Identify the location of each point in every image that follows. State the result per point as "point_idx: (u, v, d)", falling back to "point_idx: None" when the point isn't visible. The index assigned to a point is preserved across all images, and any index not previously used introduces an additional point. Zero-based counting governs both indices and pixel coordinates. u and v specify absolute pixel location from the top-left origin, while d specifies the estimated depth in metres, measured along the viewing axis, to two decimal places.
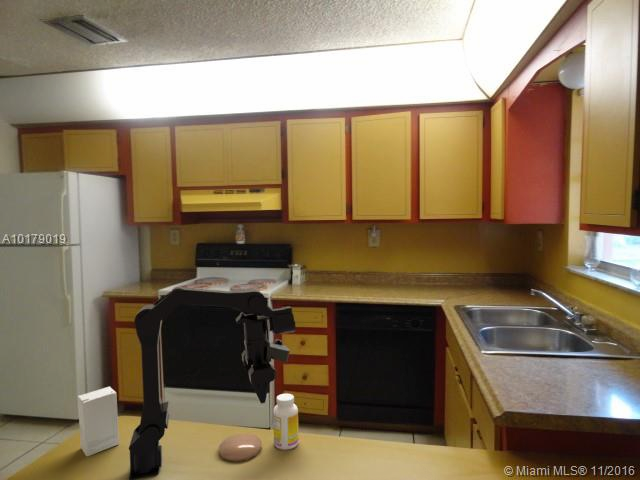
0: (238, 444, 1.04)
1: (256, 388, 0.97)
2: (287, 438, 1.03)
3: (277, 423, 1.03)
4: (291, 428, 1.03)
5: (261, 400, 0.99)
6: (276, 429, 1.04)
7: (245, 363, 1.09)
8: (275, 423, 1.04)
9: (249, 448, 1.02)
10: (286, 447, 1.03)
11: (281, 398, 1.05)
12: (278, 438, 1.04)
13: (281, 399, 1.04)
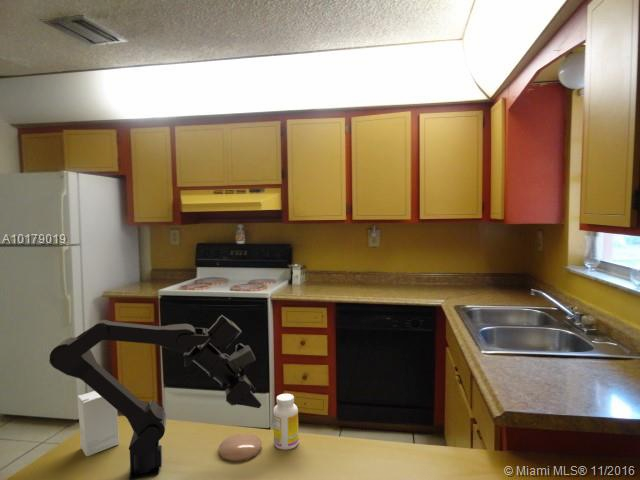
0: (238, 444, 1.04)
1: (243, 403, 0.96)
2: (287, 438, 1.03)
3: (277, 423, 1.03)
4: (291, 428, 1.03)
5: (257, 406, 0.99)
6: (276, 429, 1.04)
7: None
8: (275, 423, 1.04)
9: (249, 448, 1.02)
10: (286, 447, 1.03)
11: (281, 398, 1.05)
12: (278, 438, 1.04)
13: (281, 399, 1.04)
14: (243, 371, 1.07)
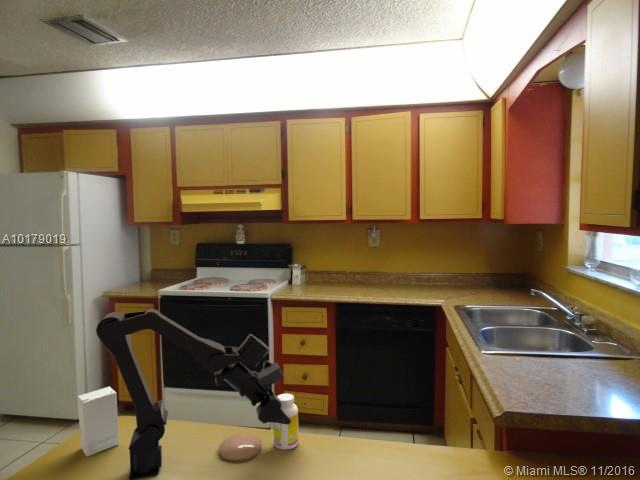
0: (238, 444, 1.04)
1: (274, 420, 0.99)
2: (287, 438, 1.03)
3: (277, 423, 1.03)
4: (291, 428, 1.03)
5: (286, 422, 1.01)
6: (276, 429, 1.04)
7: None
8: (275, 423, 1.04)
9: (249, 448, 1.02)
10: (286, 447, 1.03)
11: (281, 398, 1.05)
12: (278, 438, 1.04)
13: (281, 399, 1.04)
14: (270, 387, 1.10)
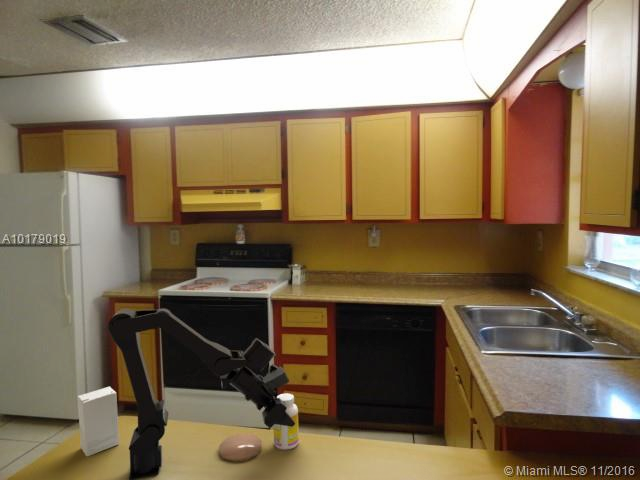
0: (238, 444, 1.04)
1: (278, 422, 1.00)
2: (287, 438, 1.03)
3: None
4: (291, 428, 1.03)
5: (291, 425, 1.03)
6: (276, 429, 1.04)
7: None
8: None
9: (249, 448, 1.02)
10: (286, 447, 1.03)
11: (281, 398, 1.05)
12: (278, 438, 1.04)
13: (281, 399, 1.04)
14: (276, 393, 1.09)
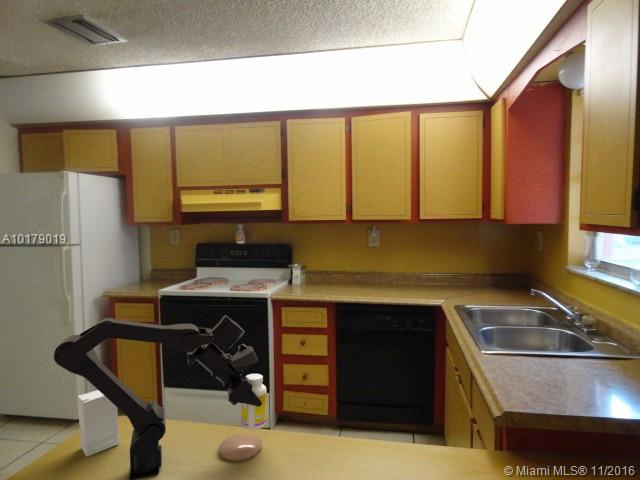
0: (238, 444, 1.04)
1: (244, 401, 0.99)
2: (254, 418, 1.01)
3: None
4: (259, 408, 1.02)
5: (257, 404, 1.01)
6: (243, 409, 1.02)
7: None
8: (242, 403, 1.02)
9: (249, 448, 1.02)
10: (252, 427, 1.01)
11: (250, 377, 1.04)
12: (244, 418, 1.02)
13: (249, 379, 1.03)
14: (246, 373, 1.08)
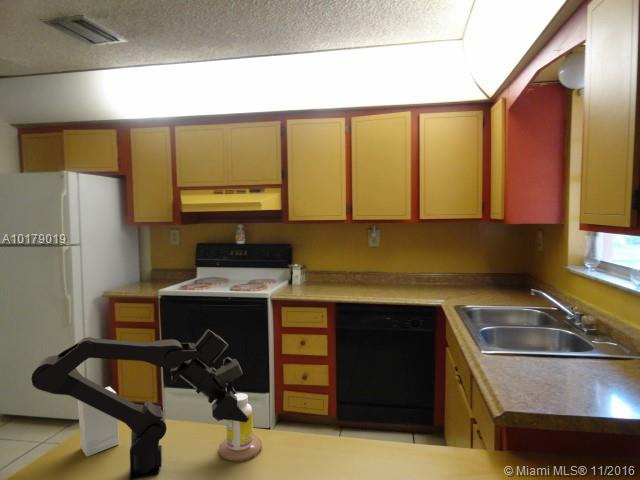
0: None
1: (230, 417, 0.97)
2: (239, 438, 1.01)
3: (230, 423, 1.01)
4: (244, 429, 1.01)
5: (244, 420, 0.99)
6: (229, 430, 1.01)
7: None
8: (227, 423, 1.02)
9: (249, 448, 1.02)
10: (238, 448, 1.01)
11: None
12: (230, 439, 1.01)
13: None
14: (231, 384, 1.08)
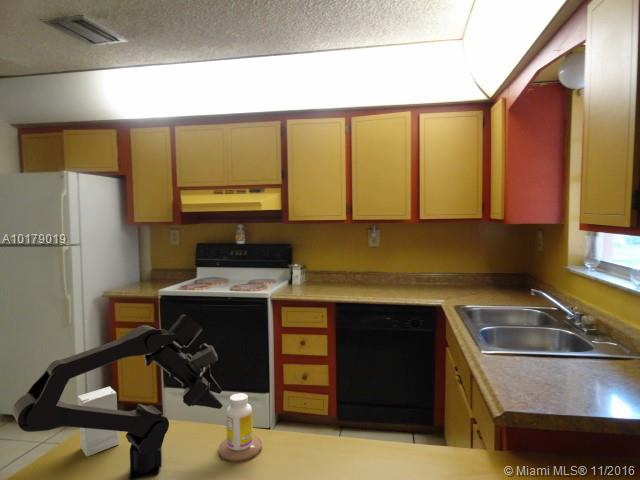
0: None
1: (202, 403, 0.96)
2: (239, 438, 1.01)
3: (230, 423, 1.01)
4: (244, 429, 1.01)
5: (217, 407, 0.98)
6: (229, 430, 1.01)
7: None
8: (227, 423, 1.02)
9: (249, 448, 1.02)
10: (238, 448, 1.01)
11: (234, 397, 1.03)
12: (230, 439, 1.01)
13: (233, 399, 1.02)
14: (208, 371, 1.07)
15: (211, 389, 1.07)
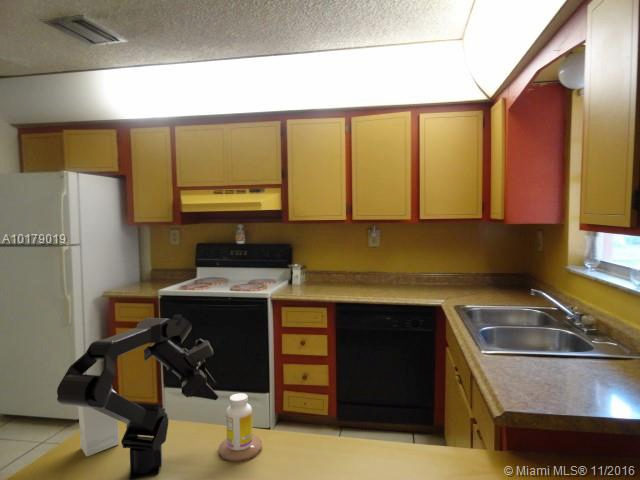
0: None
1: (199, 395, 1.01)
2: (239, 438, 1.01)
3: (230, 423, 1.01)
4: (244, 429, 1.01)
5: (213, 398, 1.03)
6: (229, 430, 1.01)
7: None
8: (227, 424, 1.02)
9: (249, 448, 1.02)
10: (238, 448, 1.01)
11: (234, 398, 1.03)
12: (230, 439, 1.01)
13: (233, 399, 1.02)
14: (204, 365, 1.12)
15: (206, 382, 1.12)
